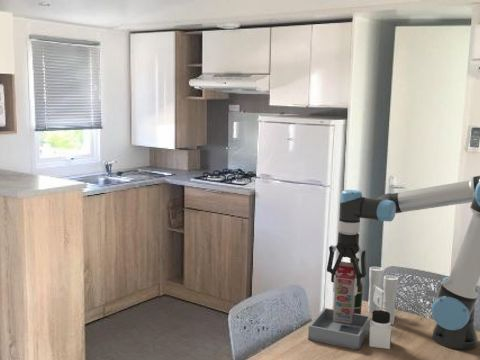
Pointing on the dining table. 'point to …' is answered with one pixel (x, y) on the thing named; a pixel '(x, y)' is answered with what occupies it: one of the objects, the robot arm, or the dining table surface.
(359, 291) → the beer bottle
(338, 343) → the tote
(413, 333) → the dining table surface
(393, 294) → the binoculars
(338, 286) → the juice carton
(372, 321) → the medicine bottle
